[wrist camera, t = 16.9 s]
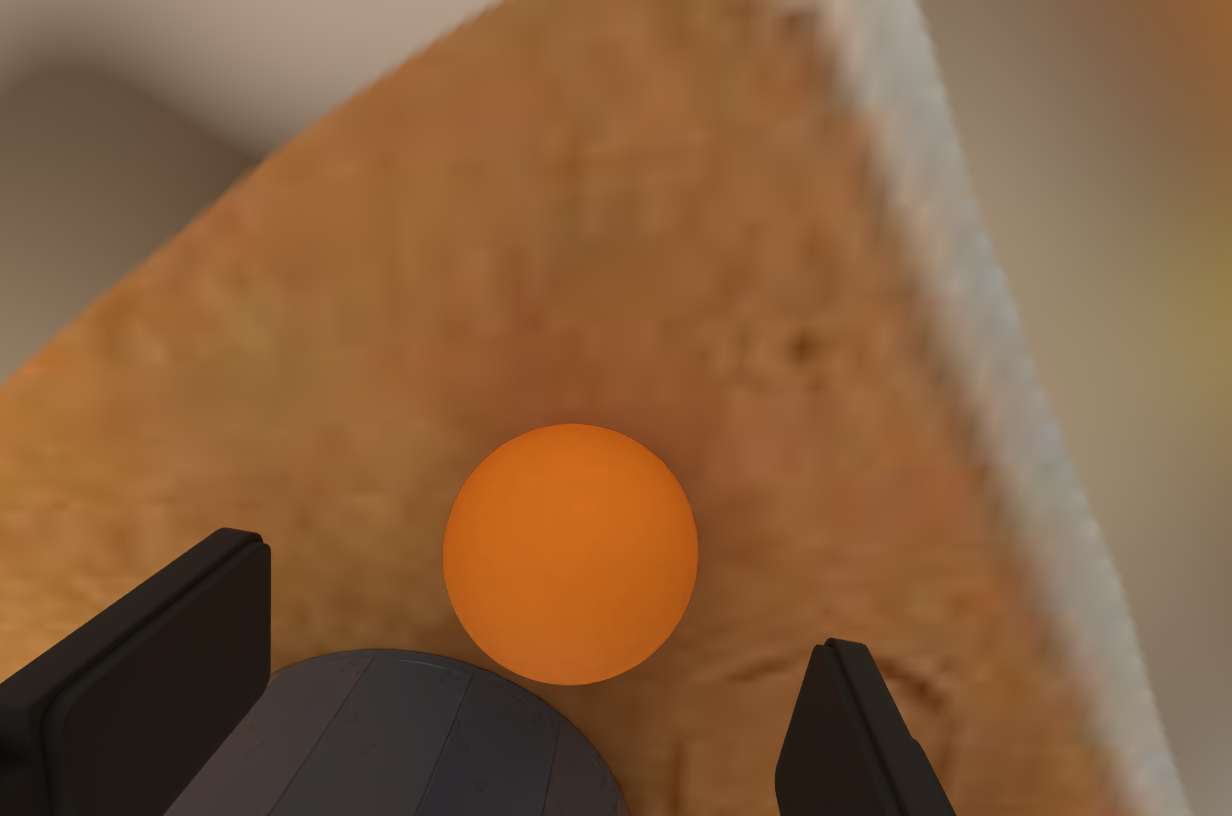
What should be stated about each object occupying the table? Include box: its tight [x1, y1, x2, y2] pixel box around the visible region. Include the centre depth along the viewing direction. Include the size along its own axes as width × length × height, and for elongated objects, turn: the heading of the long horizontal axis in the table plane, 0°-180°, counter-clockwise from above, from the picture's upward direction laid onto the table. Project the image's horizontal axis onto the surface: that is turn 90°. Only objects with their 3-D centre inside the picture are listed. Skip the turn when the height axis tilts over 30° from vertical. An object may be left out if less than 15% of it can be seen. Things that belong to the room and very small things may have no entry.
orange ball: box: [443, 424, 698, 685], centre depth 15 cm, size 6×6×6 cm
